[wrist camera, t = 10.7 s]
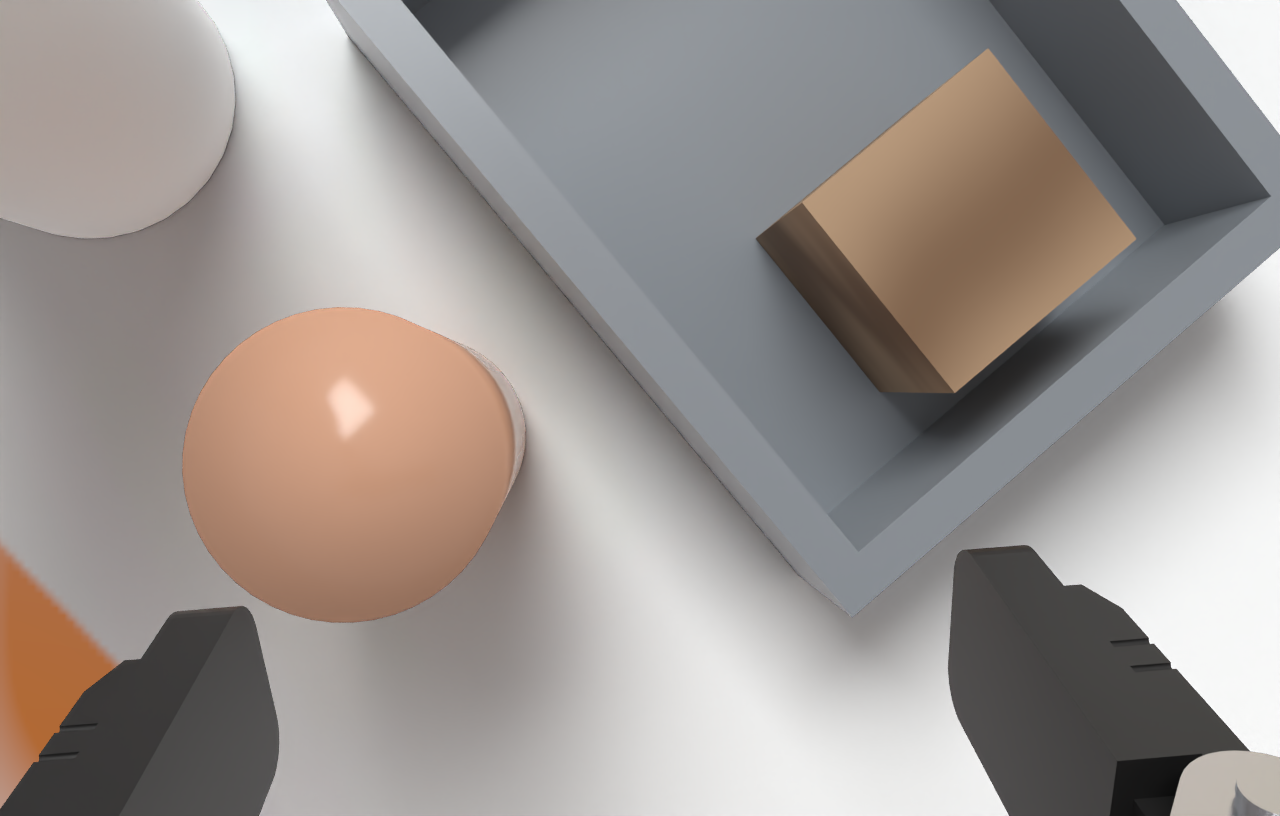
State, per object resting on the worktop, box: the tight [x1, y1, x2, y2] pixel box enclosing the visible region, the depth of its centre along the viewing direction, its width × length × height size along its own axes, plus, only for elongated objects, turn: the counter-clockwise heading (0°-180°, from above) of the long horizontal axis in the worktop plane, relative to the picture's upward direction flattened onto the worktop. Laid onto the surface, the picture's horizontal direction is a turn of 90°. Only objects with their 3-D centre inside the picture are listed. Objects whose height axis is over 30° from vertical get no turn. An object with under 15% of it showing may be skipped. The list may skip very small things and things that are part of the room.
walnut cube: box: [756, 48, 1136, 393], centre depth 24 cm, size 5×5×5 cm
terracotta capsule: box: [182, 307, 526, 622], centre depth 21 cm, size 5×5×10 cm
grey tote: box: [326, 0, 1280, 617], centre depth 24 cm, size 18×14×5 cm
